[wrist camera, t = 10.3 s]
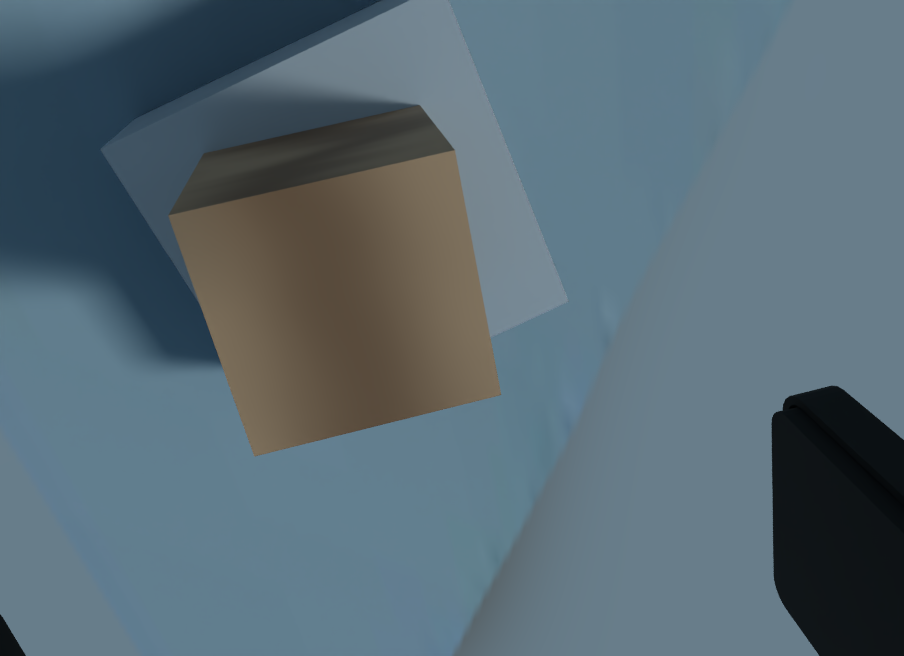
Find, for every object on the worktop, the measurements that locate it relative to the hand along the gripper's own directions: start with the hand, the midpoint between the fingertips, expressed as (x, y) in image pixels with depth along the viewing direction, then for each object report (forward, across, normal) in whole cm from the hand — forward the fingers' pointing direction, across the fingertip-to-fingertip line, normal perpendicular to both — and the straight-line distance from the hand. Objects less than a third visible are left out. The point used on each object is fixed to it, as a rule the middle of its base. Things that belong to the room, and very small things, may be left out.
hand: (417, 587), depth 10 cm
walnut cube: (+15, +1, 0) cm, 15 cm away
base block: (+20, 0, 0) cm, 20 cm away
